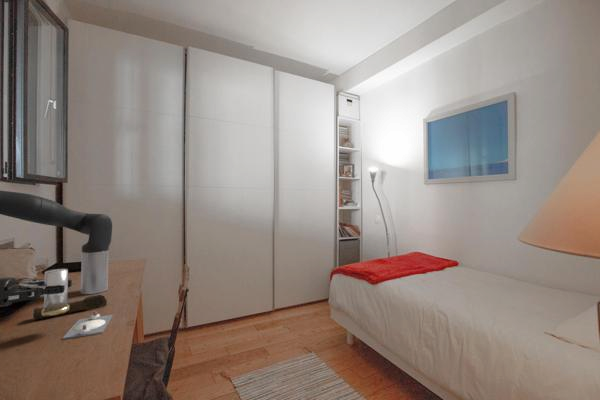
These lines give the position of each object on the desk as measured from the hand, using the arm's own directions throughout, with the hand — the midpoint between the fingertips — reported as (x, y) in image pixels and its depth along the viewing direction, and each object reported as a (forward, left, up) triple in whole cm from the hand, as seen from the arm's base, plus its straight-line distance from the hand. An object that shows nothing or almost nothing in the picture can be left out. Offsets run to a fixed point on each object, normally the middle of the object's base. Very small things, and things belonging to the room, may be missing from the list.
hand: (67, 285), depth 79 cm
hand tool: (-16, -3, -13) cm, 21 cm away
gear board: (0, +6, -13) cm, 14 cm away
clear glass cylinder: (0, -3, -7) cm, 8 cm away
